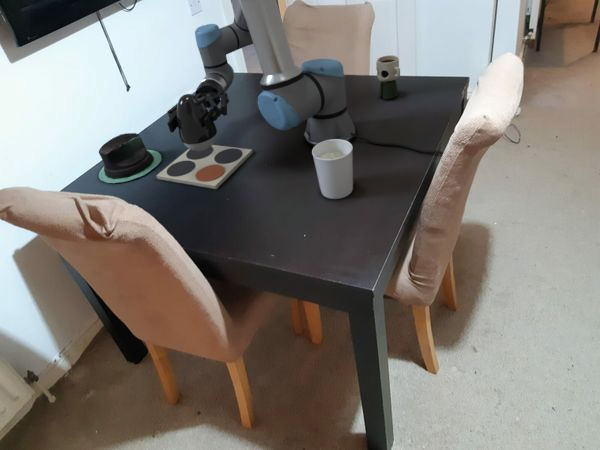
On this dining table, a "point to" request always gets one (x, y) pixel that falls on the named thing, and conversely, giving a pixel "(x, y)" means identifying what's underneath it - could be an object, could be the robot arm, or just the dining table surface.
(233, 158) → the hob plate
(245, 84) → the dining table surface
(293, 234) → the dining table surface
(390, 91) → the character mug
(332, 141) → the candle holder
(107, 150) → the black green hat
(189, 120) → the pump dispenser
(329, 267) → the dining table surface
